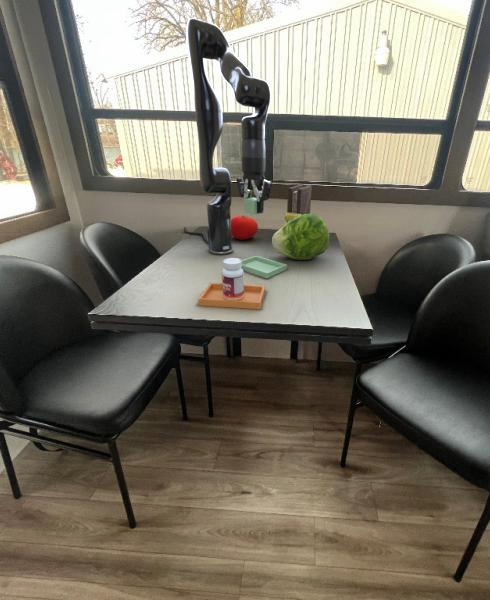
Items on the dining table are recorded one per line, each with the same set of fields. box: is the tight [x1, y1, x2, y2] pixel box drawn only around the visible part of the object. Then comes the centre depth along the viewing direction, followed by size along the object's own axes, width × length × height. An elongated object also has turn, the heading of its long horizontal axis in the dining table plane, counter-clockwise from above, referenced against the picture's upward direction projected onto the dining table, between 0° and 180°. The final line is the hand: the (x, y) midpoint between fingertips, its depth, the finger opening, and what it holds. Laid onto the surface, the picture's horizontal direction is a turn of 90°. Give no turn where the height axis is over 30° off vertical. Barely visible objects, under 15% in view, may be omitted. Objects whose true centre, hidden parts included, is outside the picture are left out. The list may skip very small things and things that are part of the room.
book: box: [284, 184, 313, 223], centre depth 144 cm, size 22×8×25 cm, turn 160°
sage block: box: [243, 197, 264, 215], centre depth 99 cm, size 4×4×4 cm
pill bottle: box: [221, 257, 245, 300], centre depth 86 cm, size 6×6×11 cm
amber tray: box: [197, 282, 266, 310], centre depth 88 cm, size 18×12×2 cm, turn 87°
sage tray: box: [240, 255, 288, 279], centre depth 111 cm, size 16×12×2 cm
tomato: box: [231, 215, 259, 241], centre depth 144 cm, size 12×14×11 cm
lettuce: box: [271, 213, 330, 261], centre depth 120 cm, size 19×23×18 cm
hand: (254, 211), depth 100 cm, fingers closed on sage block, 4 cm apart
